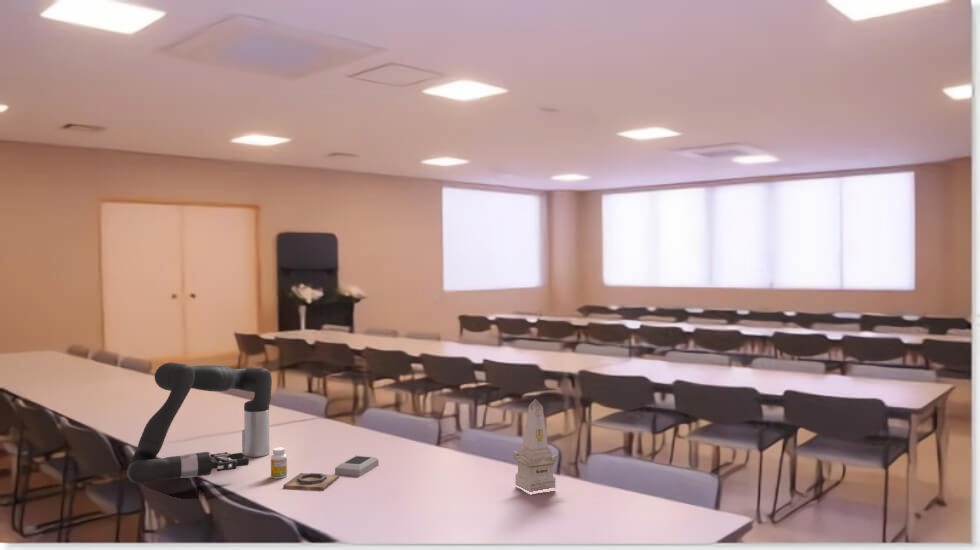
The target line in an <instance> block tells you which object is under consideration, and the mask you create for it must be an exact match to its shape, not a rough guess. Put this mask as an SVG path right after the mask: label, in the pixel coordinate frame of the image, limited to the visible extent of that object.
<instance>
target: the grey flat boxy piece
mask: <svg viewBox="0 0 980 550" xmlns="http://www.w3.org/2000/svg"><path fill="white" fill-rule="evenodd" d="M379 465H380V463H379V459H378V458H377V457H376V456H367V455H354V456H352V457H351V458H349V459H347V460H345V461H343V462H341V463H340V464H338V465H337V466H336V467H334V475H339V476H340V475H341V476H342V475H343V476H349V475H351V477H359V476H360V477H361V476H363V475H364V474H366V473H368V472H370V471H371V470H373V469H374V468H377V467H378V466H379Z"/></svg>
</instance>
